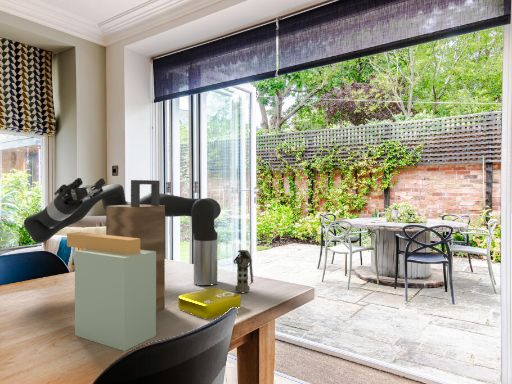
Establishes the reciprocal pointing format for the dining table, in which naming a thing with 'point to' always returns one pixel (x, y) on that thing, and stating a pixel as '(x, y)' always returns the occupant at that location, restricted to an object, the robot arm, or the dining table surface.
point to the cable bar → (104, 243)
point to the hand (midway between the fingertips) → (92, 180)
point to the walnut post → (142, 235)
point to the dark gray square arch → (136, 192)
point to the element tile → (209, 302)
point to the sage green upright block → (115, 297)
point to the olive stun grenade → (243, 271)
